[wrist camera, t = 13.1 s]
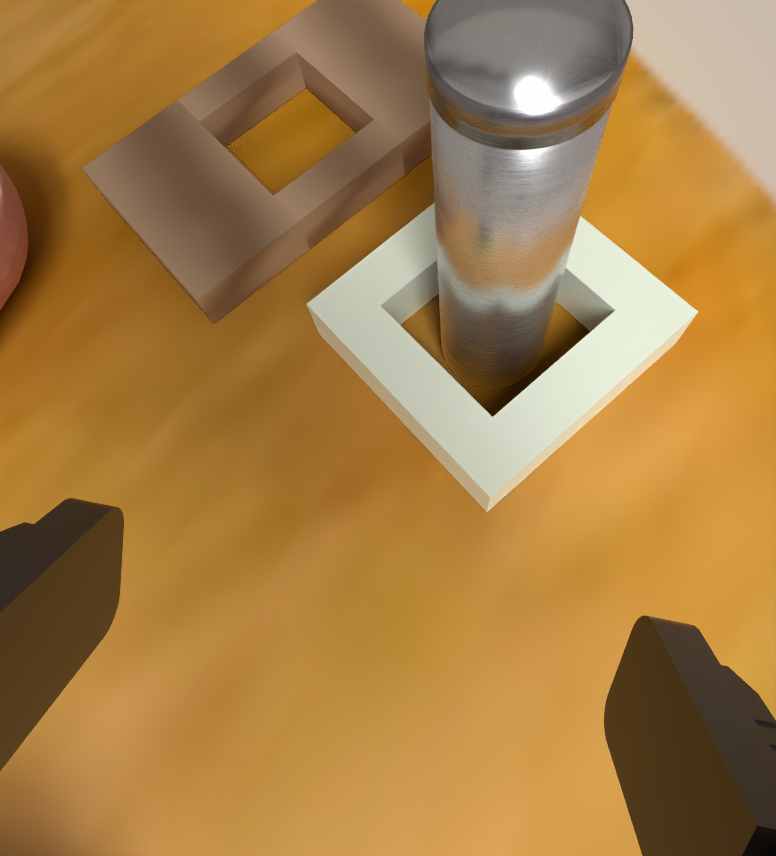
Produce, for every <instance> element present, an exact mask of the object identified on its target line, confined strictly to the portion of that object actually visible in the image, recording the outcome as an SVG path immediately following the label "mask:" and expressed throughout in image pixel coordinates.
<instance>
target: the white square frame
mask: <svg viewBox="0 0 776 856" xmlns="http://www.w3.org/2000/svg"><path fill="white" fill-rule="evenodd" d="M438 294H439V286H438V266H437V245H436V225H435V204H434V203H433V204H432V205H431V206H429V207H428V208H427V209H426V210H424V211H423V212H422V213H421V214H419V215H418V216H417V217H415V218H414V219H413V220H412V221H410V222H409V223H408V224H407V225H405V226H404V227H403V228H402V229H400V230H399V231H398V232H397V233H395V234H394V235H393V236H392V237H390V238H389V239H388V240H386V241H385V242H384V243H383V244H381V245H380V246H379V247H378V248H376V249H375V250H374V251H373V252H371V253H370V254H369V255H368V256H366V257H365V258H364V259H362V260H361V261H360V262H359V263H357V264H356V265H355V266H354V267H352V268H351V269H350V270H349V271H347V272H346V273H345V274H344V275H342V276H341V277H340V278H339V279H337V280H336V281H335V282H333V283H332V284H331V285H330V286H328V287H327V288H326V289H325V290H323V291H322V292H321V293H320V294H318V295H317V296H316V297H315V298H313V299H312V300H311V301H310V302H308V303H307V307H308V309H309V311H310V314H311V316H312V318H313V321H314V323H315V325H316V328H317V330H318V332H319V334H320V335H321V337H322V338H323V339H324V340H325V341H326V342H327V343H328V344H329V345H330V346H331V347H332V348H333V349H334V350H335V351H336V352H337V354H338V355H339V356H340V357H341V358H342V359H343V360H344V361H345V362H346V363H347V364H348V365H349V366H350V367H351V368H352V369H353V371H354V372H355V373H356V374H357V375H358V376H359V377H360V378H361V379H362V380H363V381H364V382H365V383H366V384H367V385H368V387H369V388H370V389H371V390H372V391H373V392H374V393H375V394H376V395H377V396H378V397H379V398H380V399H381V400H382V401H383V402H384V404H385V405H386V406H387V407H388V408H389V409H390V410H391V411H392V412H393V413H394V414H395V415H396V416H397V417H398V418H399V419H400V421H401V422H402V423H403V424H404V425H405V426H406V427H407V428H408V429H409V430H410V431H411V432H412V433H413V434H414V435H415V437H416V438H417V439H418V440H419V441H420V442H421V443H422V444H423V445H424V446H425V447H426V448H427V449H428V450H429V451H430V452H431V454H432V455H433V456H434V457H435V458H436V459H437V460H438V461H439V462H440V463H441V464H442V465H443V466H444V467H445V468H446V469H447V471H448V472H449V473H450V474H451V475H452V476H453V477H454V478H455V479H456V480H457V481H458V482H459V483H460V484H461V485H462V487H463V488H464V489H465V490H466V491H467V492H468V493H469V494H470V495H471V496H472V497H473V498H474V499H475V500H476V501H477V502H478V504H479V505H480V506H481V507H482V508H483V509H484V510H485V511H486V512H488V511H489V510H490V509H491V508H492V507H493V506H495V505H496V504H497V503H498V502H499V501H500V500H501V499H502V498H503V497H505V496H506V495H507V494H508V493H509V492H510V491H511V490H512V489H514V488H515V487H516V486H517V485H518V484H519V483H520V482H521V481H522V480H524V479H525V478H526V477H527V476H528V475H529V474H530V473H531V472H533V471H534V470H535V469H536V468H537V467H538V466H539V465H540V464H541V463H543V462H544V461H545V460H546V459H547V458H548V457H549V456H550V455H552V454H553V453H554V452H555V451H556V450H557V449H558V448H559V447H560V446H562V445H563V444H564V443H565V442H566V441H567V440H568V439H569V438H571V437H572V436H573V435H574V434H575V433H576V432H577V431H578V430H579V429H581V428H582V427H583V426H584V425H585V424H586V423H587V422H588V421H590V420H591V419H592V418H593V417H594V416H595V415H596V414H597V413H598V412H600V411H601V410H602V409H603V408H604V407H605V406H606V405H607V404H609V403H610V402H611V401H612V400H613V399H614V398H615V397H616V396H617V395H619V394H620V393H621V392H622V391H623V390H624V389H625V388H626V387H627V386H629V385H630V384H631V383H632V382H633V381H634V380H635V379H636V378H638V377H639V376H640V375H641V374H642V373H643V372H644V371H645V370H646V369H648V368H649V367H650V366H651V365H652V364H653V363H654V362H655V361H657V360H658V359H659V358H660V357H661V356H662V355H663V354H664V353H665V352H667V351H668V350H669V349H670V348H671V347H672V346H673V345H674V344H676V342H677V341H678V340H679V338H680V337H681V335H682V334H683V333H684V331H685V330H686V328H687V327H688V326H689V324H690V323H691V321H692V320H693V319H694V317H695V316H696V314H697V313H698V311H697V310H695V309H694V308H693V307H692V306H690V305H689V304H688V303H687V302H686V301H684V300H683V299H682V298H681V297H679V296H678V295H677V294H676V293H674V292H673V291H672V290H671V289H670V288H668V287H667V286H666V285H665V284H663V283H662V282H661V281H660V280H658V279H657V278H656V277H655V276H654V275H652V274H651V273H650V272H649V271H647V270H646V269H645V268H644V267H643V266H641V265H640V264H639V263H638V262H636V261H635V260H634V259H633V258H631V257H630V256H629V255H628V254H627V253H625V252H624V251H623V250H622V249H620V248H619V247H618V246H617V245H615V244H614V243H613V242H612V241H611V240H609V239H608V238H607V237H606V236H604V235H603V234H602V233H601V232H600V231H598V230H597V229H596V228H595V227H593V226H592V225H591V224H590V223H588V222H587V221H586V220H585V219H584V218H582V217H581V216H580V218H579V222H578V225H577V229H576V232H575V236H574V239H573V243H572V246H571V250H570V253H569V257H568V260H567V264H566V267H565V271H564V274H563V278H562V281H561V285H560V288H559V292H558V295H557V299H556V302H557V303H558V304H559V305H560V306H561V307H562V308H564V309H565V310H566V311H567V312H568V313H569V314H570V315H572V316H573V317H574V318H575V319H576V320H577V321H578V322H580V323H581V324H582V325H583V326H584V327H585V328H586V329H587V330H589V331H590V333H589V334H588V335H586V336H585V337H584V338H583V339H582V340H581V341H579V342H578V343H577V344H576V345H575V346H574V347H573V348H571V349H570V350H569V351H568V352H567V353H566V354H564V355H563V356H562V357H561V358H560V359H559V360H558V361H556V362H555V363H554V364H553V365H552V366H551V367H550V368H548V369H547V370H546V371H545V372H544V373H543V374H541V375H540V376H539V377H538V378H537V379H536V380H535V381H533V382H532V383H531V384H530V385H529V386H528V387H527V388H525V389H524V390H523V391H522V392H521V393H520V394H518V395H517V396H516V397H515V398H514V399H513V400H512V401H510V402H509V403H508V404H507V405H506V406H505V407H503V408H502V409H501V410H500V411H499V412H498V413H497V414H495V415H494V416H493V417H492V416H491V415H490V414H489V413H488V412H487V411H486V410H485V409H484V408H483V407H482V406H481V405H480V404H479V403H478V402H477V401H476V400H475V399H474V398H473V397H472V396H471V395H470V394H469V393H468V392H467V391H466V390H465V389H464V388H463V387H462V386H461V385H460V384H459V383H458V382H457V381H456V380H455V379H454V378H453V377H452V376H451V375H450V374H449V373H448V372H447V371H446V370H445V369H444V368H443V367H442V366H441V365H440V364H439V363H438V362H437V361H436V360H435V359H434V358H433V357H432V356H431V355H430V354H429V353H428V352H427V351H426V350H425V349H424V348H423V347H422V346H421V345H420V344H419V343H418V342H417V341H416V340H415V339H414V338H413V337H412V336H411V335H410V334H409V333H408V332H407V331H406V330H405V329H404V328H403V327H402V326H401V324H402V323H403V322H405V321H406V320H407V319H408V318H410V317H411V316H412V315H413V314H414V313H416V312H417V311H418V310H419V309H421V308H422V307H423V306H424V305H425V304H427V303H428V302H429V301H430V300H431V299H433V298H434V297H435V296H436V295H438Z"/></svg>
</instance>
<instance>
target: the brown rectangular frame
mask: <svg viewBox="0 0 776 856" xmlns="http://www.w3.org/2000/svg"><path fill="white" fill-rule="evenodd" d="M425 25H426V20H425V19H424V18H422V17H421V16H420V15H418V14H417V13H416V12H414V11H413V10H412V9H410V8H409V7H408V6H407V5H405V4H404V3H403V2H401V1H400V0H318V1H316V2H315V3H313V4H312V5H311V6H309V7H308V8H306V9H305V10H303V11H302V12H301V13H299V14H298V15H296V16H295V17H294V18H292V19H291V20H289V21H288V22H287V23H285V24H284V25H282V26H281V27H280V28H278V29H277V30H275V31H274V32H273V33H271V34H270V35H268V36H267V37H266V38H264V39H263V40H261V41H260V42H258V43H257V44H256V45H254V46H253V47H251V48H250V49H249V50H247V51H246V52H244V53H243V54H242V55H240V56H239V57H237V58H236V59H235V60H233V61H232V62H230V63H229V64H228V65H226V66H225V67H223V68H222V69H221V70H219V71H218V72H216V73H215V74H214V75H212V76H211V77H209V78H208V79H206V80H205V81H204V82H202V83H201V84H199V85H198V86H197V87H195V88H194V89H192V90H191V91H190V92H188V93H187V94H185V95H184V96H183V97H181V98H180V99H178V100H177V101H176V102H174V103H173V104H171V105H170V106H169V107H167V108H166V109H164V110H163V111H161V112H160V113H159V114H157V115H156V116H154V117H153V118H152V119H150V120H149V121H147V122H146V123H145V124H143V125H142V126H140V127H139V128H138V129H136V130H135V131H133V132H132V133H131V134H129V135H128V136H126V137H125V138H124V139H122V140H121V141H119V142H118V143H116V144H115V145H114V146H112V147H111V148H109V149H108V150H107V151H105V152H104V153H102V154H101V155H100V156H98V157H97V158H95V159H94V160H93V161H91V162H90V163H88V164H87V165H86V166H84V167H83V168H81V169H82V170H83V171H84V173H85V174H86V175H87V176H88V178H89V179H90V180H91V182H92V183H93V184H94V186H95V187H96V188H97V189H98V191H99V192H100V193H101V195H102V196H103V197H104V198H105V200H106V201H107V202H108V203H109V204H110V205H111V206H112V208H113V209H114V210H115V211H116V212H117V213H118V214H119V216H120V217H121V218H122V219H123V220H124V221H125V223H126V224H127V225H128V226H129V227H130V228H131V229H132V231H133V232H134V233H135V234H136V235H137V236H138V237H139V239H140V240H141V241H142V242H143V243H144V244H145V245H146V247H147V248H148V249H149V250H150V251H151V252H152V253H153V255H154V256H155V257H156V258H157V259H158V260H159V262H160V263H161V264H162V265H163V266H164V267H165V268H166V270H167V271H168V272H169V273H170V274H171V275H172V276H173V278H174V279H175V280H176V281H177V282H178V283H179V284H180V286H181V287H182V288H183V289H184V290H185V291H186V292H187V294H188V295H189V296H190V297H191V298H192V299H193V301H194V302H195V303H196V304H197V305H198V306H199V307H200V309H201V310H202V311H203V312H204V313H205V314H206V315H207V317H208V318H209V319H210V320H211V321H212V322H213V323H214V324H215V323H216V322H217V321H218V320H220V319H221V318H222V317H224V316H225V315H226V314H227V313H229V312H230V311H231V310H232V309H234V308H235V307H236V306H238V305H239V304H240V303H241V302H243V301H244V300H245V299H247V298H248V297H249V296H250V295H252V294H253V293H254V292H256V291H257V290H258V289H259V288H261V287H262V286H263V285H265V284H266V283H267V282H268V281H270V280H271V279H272V278H274V277H275V276H276V275H277V274H279V273H280V272H281V271H283V270H284V269H285V268H286V267H288V266H289V265H290V264H292V263H293V262H294V261H295V260H297V259H298V258H299V257H301V256H302V255H303V254H304V253H306V252H307V251H308V250H310V249H311V248H312V247H313V246H315V245H316V244H317V243H319V242H320V241H321V240H322V239H324V238H325V237H326V236H328V235H329V234H330V233H331V232H333V231H334V230H335V229H337V228H338V227H339V226H340V225H342V224H343V223H344V222H346V221H347V220H348V219H349V218H351V217H352V216H353V215H355V214H356V213H357V212H358V211H360V210H361V209H362V208H364V207H365V206H366V205H367V204H369V203H370V202H371V201H373V200H374V199H375V198H376V197H378V196H379V195H380V194H382V193H383V192H384V191H385V190H387V189H388V188H389V187H390V186H392V185H393V184H394V183H396V182H397V181H398V180H399V179H401V178H402V177H403V176H405V175H406V174H407V173H408V172H410V171H411V170H412V169H414V168H415V167H416V166H417V165H419V164H420V163H421V162H423V161H424V160H425V159H426V158H428V157H429V156H430V155H432V143H431V122H430V102H429V95H428V90H427V85H426V68H425V49H424V31H425ZM305 88H307V89H308V90H309V91H310V92H311V93H312V94H313V95H315V96H316V97H317V98H318V99H319V100H320V101H321V102H322V103H324V104H325V105H326V106H327V107H328V108H329V109H330V110H332V111H333V112H334V113H335V114H336V115H337V116H338V117H339V118H341V119H342V120H343V121H344V122H345V123H346V124H347V125H348V126H350V127H351V128H352V129H353V130H354V131H355V132H356V134H354V135H353V136H352V137H351V138H349V139H348V140H347V141H345V142H344V143H343V144H341V145H340V146H339V147H337V148H336V149H335V150H333V151H332V152H331V153H329V154H328V155H327V156H325V157H324V158H323V159H321V160H320V161H319V162H317V163H316V164H315V165H313V166H312V167H311V168H310V169H308V170H307V171H306V172H304V173H303V174H302V175H300V176H299V177H298V178H296V179H295V180H294V181H292V182H291V183H290V184H288V185H287V186H286V187H284V188H283V189H282V190H280V191H279V192H278V193H276V194H275V195H273V194H272V193H271V192H270V191H269V190H268V189H267V188H266V187H265V186H264V185H263V184H262V183H261V182H260V181H259V180H258V179H256V178H255V177H254V176H253V175H252V174H251V173H250V172H249V171H248V170H247V169H246V168H245V167H244V166H243V165H242V164H241V163H240V162H239V161H238V160H237V159H236V158H235V157H234V156H233V155H232V154H231V153H230V152H229V151H228V150H227V149H226V148H225V147H226V146H227V145H228V144H230V143H231V142H233V141H234V140H235V139H237V138H238V137H239V136H241V135H242V134H243V133H245V132H246V131H248V130H249V129H250V128H252V127H253V126H254V125H256V124H257V123H258V122H260V121H261V120H263V119H264V118H265V117H267V116H268V115H269V114H271V113H272V112H273V111H275V110H276V109H278V108H279V107H280V106H282V105H283V104H284V103H286V102H287V101H288V100H290V99H291V98H293V97H294V96H295V95H297V94H298V93H299V92H301V91H302V90H303V89H305Z"/></svg>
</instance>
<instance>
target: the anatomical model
mask: <svg viewBox="0 0 776 856" xmlns="http://www.w3.org/2000/svg"><path fill="white" fill-rule="evenodd" d="M27 251H28V232H27V221H26V216H25V212H24V208H23V204H22V202H21V199H20V197H19V194H18V192H17V189H16V187H15V186H14V184H13V183H12V181H11V179H10V178H9V176H8V174H7V173H6V171H5V170H4V169H3V167H2V166H1V164H0V310H1V309H2V307H3V306H4V304H5V303H6V301H7V300H8V298H9V297H10V295H11V293H12V292H13V290H14V289H15V287H16V286H17V284H18V283H19V280H20V278H21V275H22V272H23V269H24V266H25V263H26V259H27Z"/></svg>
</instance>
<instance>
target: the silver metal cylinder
mask: <svg viewBox="0 0 776 856" xmlns="http://www.w3.org/2000/svg"><path fill="white" fill-rule="evenodd" d="M632 39H633V23H632V16H631V14H630V10H629V8H628V6H627V4H626V2H625V0H437V1H436V2H435V4H434V5H433V7H432V9H431V11H430V13H429V15H428V18H427V21H426V25H425V31H424V49H425V68H426V85H427V90H428V95H429V102H430V122H431V143H432V163H433V184H434V204H435V225H436V245H437V266H438V286H439V307H440V327H441V347H442V353H443V356H444V359H445V361H446V363H447V365H448V366H449V368H450V369H451V370H452V372H453V373H454V374H455V375H456V376H458V377H459V378H460V379H462V380H463V381H465V382H467V383H469V384H471V385H474V386H477V387H481V388H489V389H493V388H503V387H507V386H510V385H513V384H515V383H517V382H519V381H521V380H522V379H523V378H525V377H526V376H527V375H528V374H529V373H530V372H531V371H532V370H533V369H534V367H535V366H536V364H537V362H538V360H539V358H540V355H541V352H542V348H543V345H544V341H545V338H546V334H547V331H548V327H549V324H550V320H551V317H552V313H553V310H554V306H555V303H556V299H557V295H558V292H559V288H560V285H561V281H562V278H563V274H564V271H565V267H566V264H567V260H568V257H569V253H570V250H571V246H572V243H573V239H574V236H575V232H576V229H577V225H578V222H579V218H580V215H581V211H582V208H583V204H584V201H585V197H586V194H587V190H588V187H589V183H590V179H591V176H592V172H593V169H594V165H595V162H596V158H597V155H598V151H599V148H600V144H601V141H602V137H603V134H604V130H605V127H606V123H607V120H608V116H609V113H610V109H611V106H612V103H613V102H614V100H615V97H616V95H617V92H618V90H619V87H620V83H621V80H622V76H623V73H624V69H625V66H626V62H627V59H628V55H629V52H630V48H631V44H632Z"/></svg>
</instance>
